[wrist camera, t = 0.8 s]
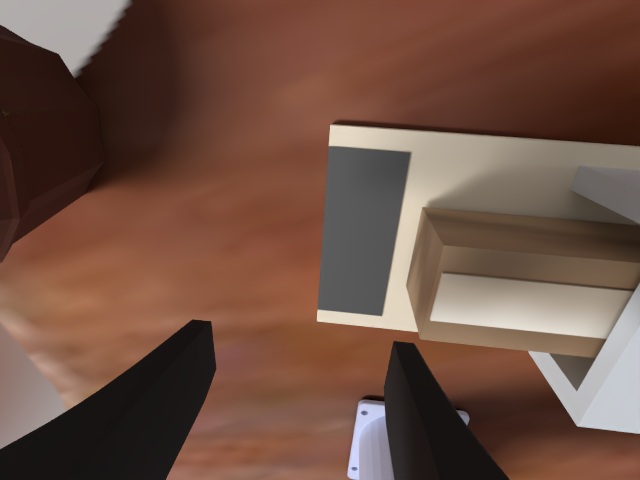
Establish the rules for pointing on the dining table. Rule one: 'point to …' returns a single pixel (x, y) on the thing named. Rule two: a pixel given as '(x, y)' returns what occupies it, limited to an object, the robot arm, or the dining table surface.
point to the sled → (521, 280)
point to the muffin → (41, 138)
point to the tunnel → (480, 196)
